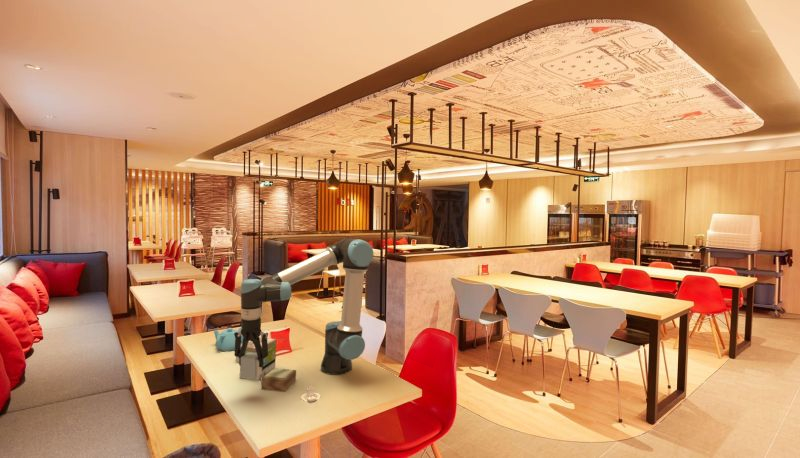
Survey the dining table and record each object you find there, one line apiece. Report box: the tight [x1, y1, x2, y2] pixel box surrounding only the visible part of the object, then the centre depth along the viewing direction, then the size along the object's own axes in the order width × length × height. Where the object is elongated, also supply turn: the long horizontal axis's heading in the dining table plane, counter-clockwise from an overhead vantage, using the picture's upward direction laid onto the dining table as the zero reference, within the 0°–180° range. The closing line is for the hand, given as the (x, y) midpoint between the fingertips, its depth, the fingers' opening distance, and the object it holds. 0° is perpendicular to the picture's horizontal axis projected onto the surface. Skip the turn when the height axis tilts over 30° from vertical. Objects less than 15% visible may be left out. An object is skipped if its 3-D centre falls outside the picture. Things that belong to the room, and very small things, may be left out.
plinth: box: [260, 367, 297, 392], centre depth 177 cm, size 11×11×5 cm
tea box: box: [239, 336, 277, 381], centre depth 188 cm, size 15×10×15 cm, turn 168°
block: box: [241, 352, 258, 379], centre depth 163 cm, size 6×6×8 cm
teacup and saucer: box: [300, 386, 321, 402], centre depth 166 cm, size 9×8×4 cm
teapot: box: [213, 327, 244, 352], centre depth 222 cm, size 15×15×11 cm
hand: (251, 373), depth 163 cm, fingers closed on block, 6 cm apart
